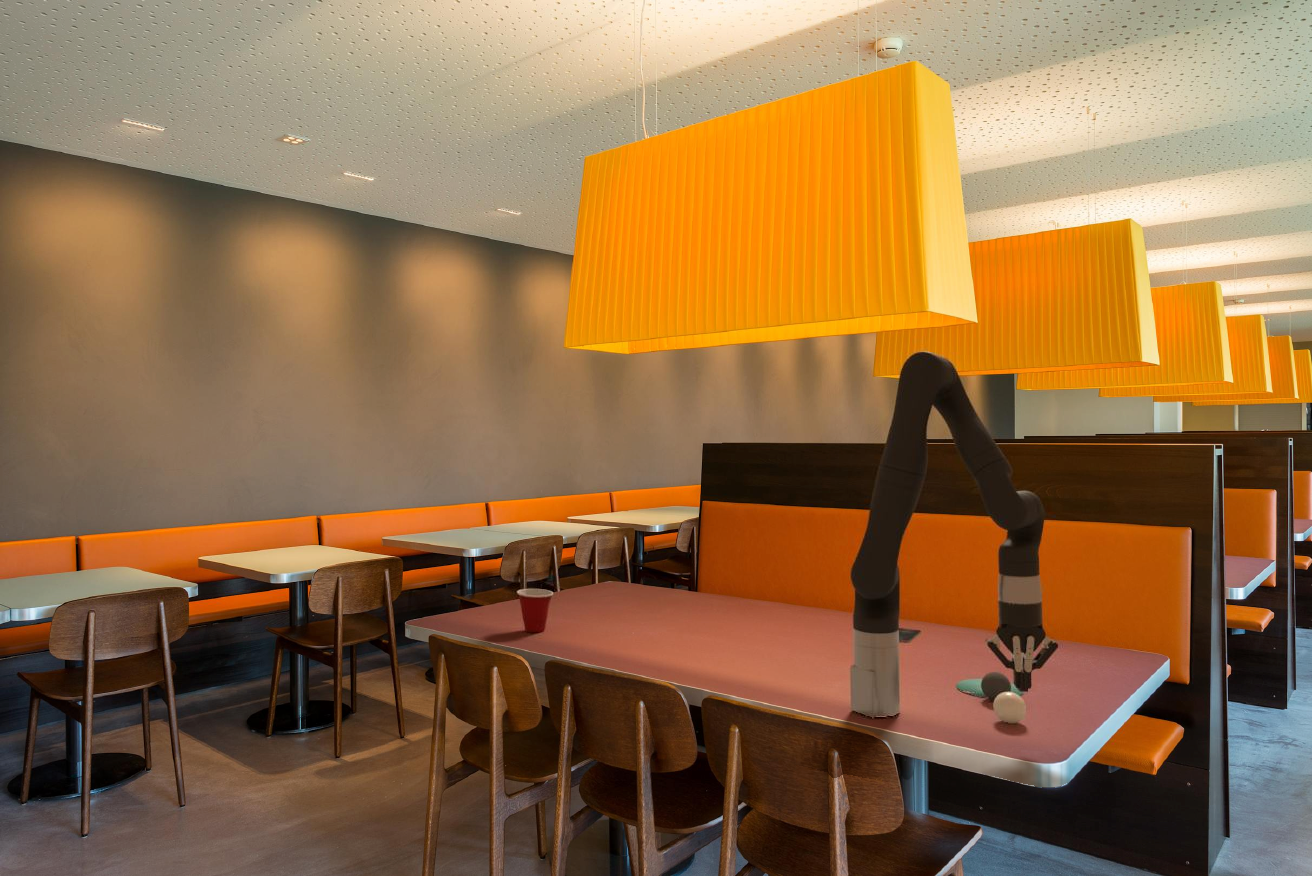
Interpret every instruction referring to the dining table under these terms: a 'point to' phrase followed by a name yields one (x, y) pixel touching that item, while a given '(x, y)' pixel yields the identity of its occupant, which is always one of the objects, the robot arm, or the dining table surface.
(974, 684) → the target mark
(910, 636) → the smartphone
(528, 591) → the plastic cup
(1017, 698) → the cue ball
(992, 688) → the object ball
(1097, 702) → the dining table surface
